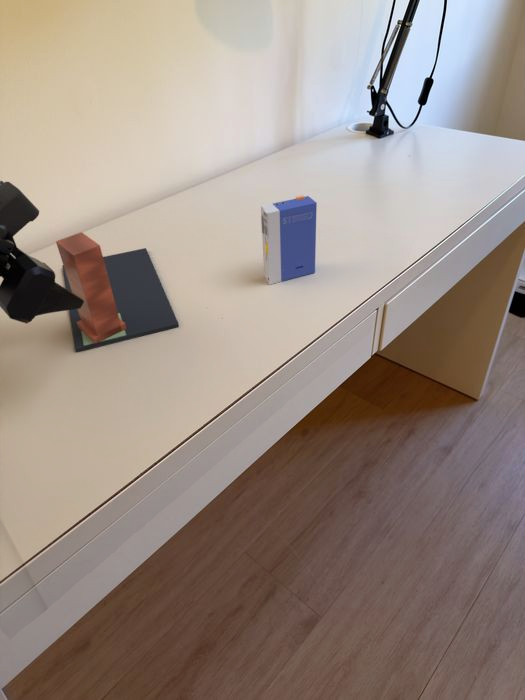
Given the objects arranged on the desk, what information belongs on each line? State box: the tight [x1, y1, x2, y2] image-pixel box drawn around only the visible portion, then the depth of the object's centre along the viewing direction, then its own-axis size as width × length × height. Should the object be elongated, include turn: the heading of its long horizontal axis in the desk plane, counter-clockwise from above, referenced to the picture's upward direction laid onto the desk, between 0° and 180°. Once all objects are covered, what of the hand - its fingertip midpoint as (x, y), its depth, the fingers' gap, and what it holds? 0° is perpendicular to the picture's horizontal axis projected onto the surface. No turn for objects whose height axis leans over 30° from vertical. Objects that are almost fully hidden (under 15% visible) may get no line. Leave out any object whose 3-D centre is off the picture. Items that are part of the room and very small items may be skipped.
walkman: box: [260, 194, 318, 285], centre depth 79 cm, size 8×3×12 cm, turn 112°
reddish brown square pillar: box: [55, 231, 127, 344], centre depth 68 cm, size 5×5×13 cm
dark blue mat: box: [61, 247, 180, 353], centre depth 80 cm, size 24×14×1 cm, turn 21°
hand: (65, 289), depth 66 cm, fingers open, 9 cm apart
